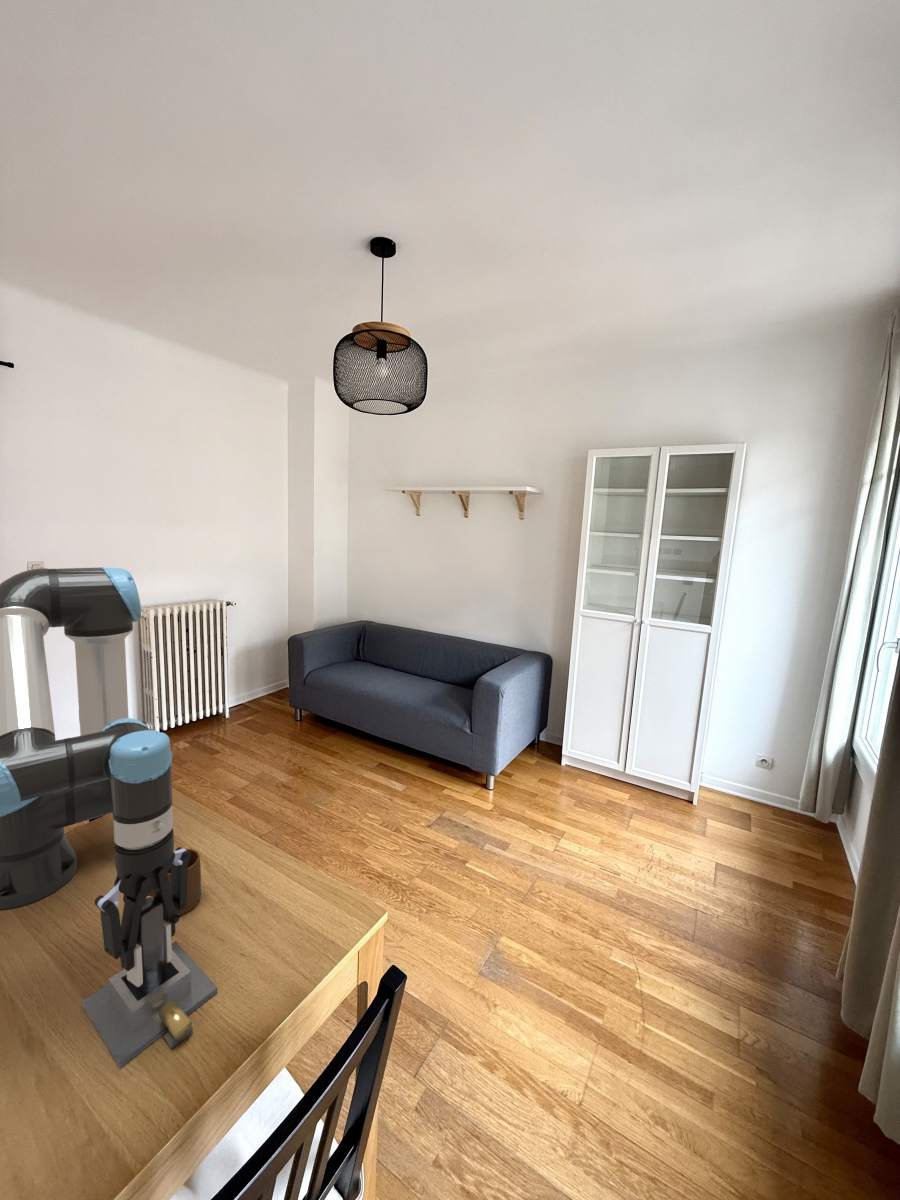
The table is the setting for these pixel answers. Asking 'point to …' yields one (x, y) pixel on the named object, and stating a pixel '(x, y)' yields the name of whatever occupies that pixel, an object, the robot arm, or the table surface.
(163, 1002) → the open box on baseplate
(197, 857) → the mug
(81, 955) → the table surface
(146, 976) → the dark cylinder
